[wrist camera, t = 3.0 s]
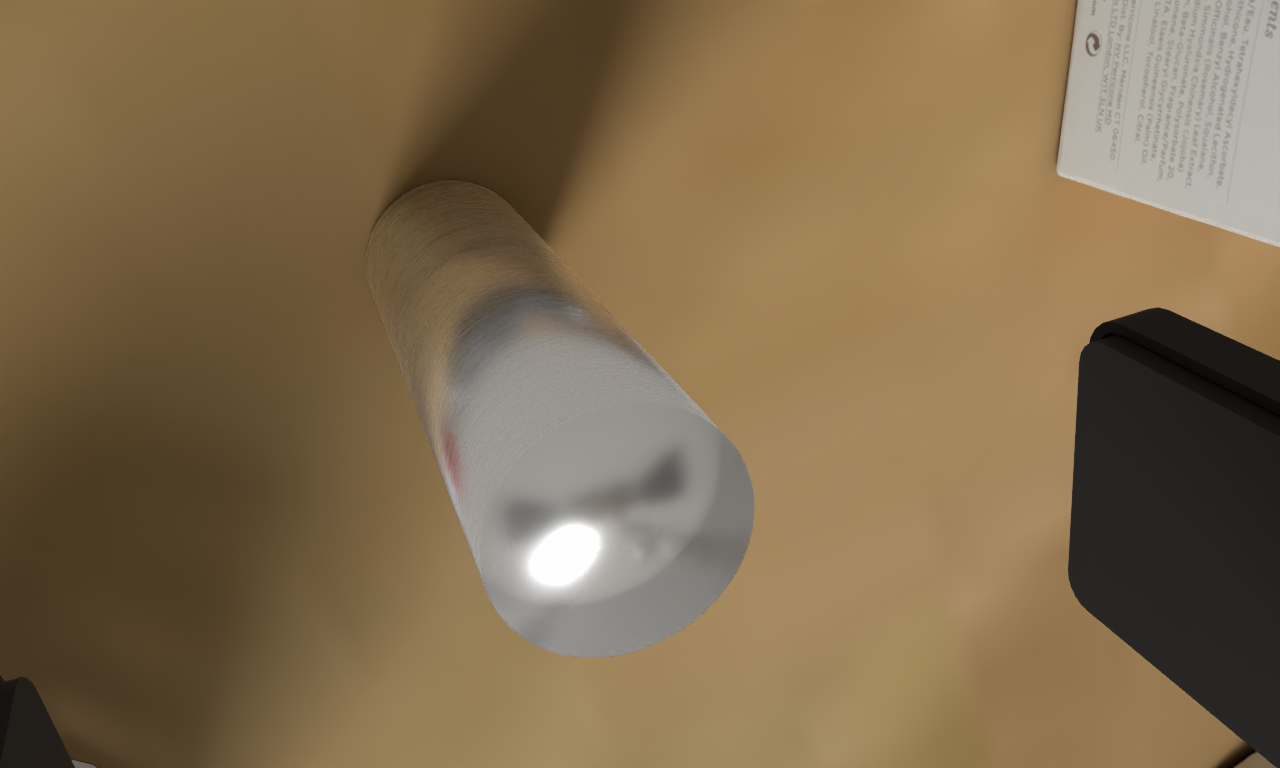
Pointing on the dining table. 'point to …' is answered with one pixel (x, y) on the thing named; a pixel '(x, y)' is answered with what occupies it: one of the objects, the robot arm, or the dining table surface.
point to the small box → (1179, 108)
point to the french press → (82, 765)
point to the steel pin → (554, 431)
